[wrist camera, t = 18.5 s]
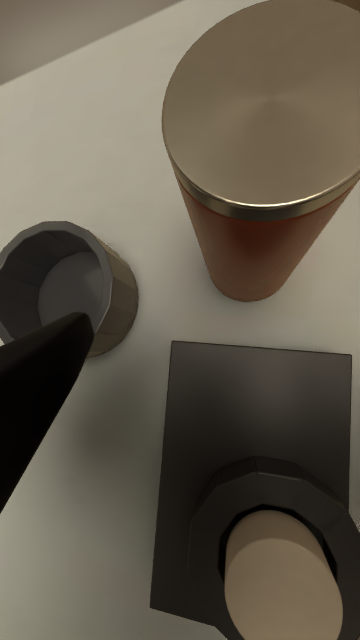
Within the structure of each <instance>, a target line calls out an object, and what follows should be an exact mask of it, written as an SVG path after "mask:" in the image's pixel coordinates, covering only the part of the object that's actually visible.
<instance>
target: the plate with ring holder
mask: <svg viewBox="0 0 360 640" xmlns="http://www.w3.org/2000/svg"><path fill="white" fill-rule="evenodd" d="M351 380H352V355H351V354H339V353H326V352H313V351H300V350H288V349H275V348H262V347H249V346H236V345H223V344H210V343H197V342H185V341H172V343H171V355H170V367H169V379H168V391H167V403H166V415H165V427H164V439H163V451H162V463H161V475H160V487H159V499H158V511H157V523H156V535H155V547H154V559H153V571H152V583H151V595H150V608H152V609H156V610H159V611H163V612H166V613H170V614H173V615H177V616H180V617H183V618H187V619H190V620H194V621H197V622H201V623H204V624H208V625H211V626H215V627H216V628H217V629H218V630H219V631H220V632H221V633H222V634H223V635H224V636H225V637H226V638H227V639H228V640H245V639H244V638H243V636H242V635H241V634H240V633H239V631H238V629H237V628H236V626H235V625H234V623H233V621H232V618H231V616H230V614H229V611H228V608H227V604H226V600H225V564H226V548H227V542H228V538H229V536H230V533H231V531H232V530H233V528H234V526H235V525H236V524H237V523H238V522H239V521H240V520H241V519H242V518H243V517H245V516H246V515H248V514H250V513H253V512H256V511H260V510H275V511H280V512H283V513H286V514H288V515H290V516H292V517H294V518H296V519H297V520H299V521H300V522H302V523H303V524H304V525H305V526H306V527H307V528H308V529H309V530H310V531H311V532H312V533H313V535H314V536H315V538H316V539H317V541H318V543H319V544H320V546H321V549H322V551H323V553H324V556H325V558H326V560H327V563H328V565H329V567H330V570H331V572H332V574H333V577H334V579H335V581H336V584H337V586H338V588H339V592H340V595H341V599H342V605H343V619H342V626H341V630H340V633H339V636H338V638H337V640H357V639H358V638H359V636H360V533H359V531H358V529H357V527H356V525H355V523H354V521H353V520H352V518H351V516H350V514H349V468H350V424H351Z"/></svg>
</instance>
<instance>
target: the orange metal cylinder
mask: <svg viewBox="0 0 360 640" xmlns="http://www.w3.org/2000/svg"><path fill="white" fill-rule="evenodd" d="M162 133H163V139H164V143H165V147H166V150H167V153H168V156H169V158H170V161H171V164H172V167H173V170H174V173H175V176H176V179H177V182H178V184H179V187H180V190H181V193H182V196H183V199H184V202H185V205H186V208H187V210H188V213H189V216H190V219H191V222H192V225H193V228H194V231H195V234H196V236H197V239H198V242H199V245H200V248H201V251H202V254H203V257H204V260H205V262H206V265H207V268H208V271H209V274H210V277H211V279H212V281H213V283H214V284H215V286H216V287H217V288H218V289H219V290H220V291H221V292H222V293H223V294H225V295H226V296H228V297H230V298H232V299H235V300H238V301H245V302H251V301H258V300H262V299H265V298H267V297H269V296H271V295H272V294H274V293H275V292H277V291H278V290H279V289H280V288H281V287H282V286H283V284H284V283H285V282H286V280H287V279H288V277H289V276H290V275H291V273H292V272H293V271H294V269H295V268H296V266H297V265H298V264H299V262H300V261H301V259H302V258H303V257H304V255H305V254H306V253H307V251H308V250H309V248H310V247H311V246H312V244H313V243H314V241H315V240H316V239H317V237H318V236H319V235H320V233H321V232H322V230H323V229H324V228H325V226H326V225H327V224H328V222H329V221H330V219H331V218H332V217H333V215H334V214H335V212H336V211H337V210H338V208H339V207H340V206H341V204H342V203H343V201H344V200H345V199H346V197H347V196H348V194H349V193H350V192H351V190H352V189H353V188H354V186H355V185H356V183H357V182H358V181H359V179H360V12H359V11H357V10H355V9H353V8H350V7H348V6H346V5H344V4H341V3H338V2H335V1H332V0H269V1H265V2H261V3H258V4H255V5H252V6H250V7H247V8H244V9H242V10H240V11H238V12H236V13H234V14H232V15H230V16H228V17H227V18H225V19H223V20H222V21H220V22H219V23H217V24H216V25H214V26H213V27H212V28H211V29H209V30H208V31H207V32H205V33H204V34H203V35H202V36H201V37H200V38H199V39H198V40H197V41H196V42H195V43H194V44H193V45H192V46H191V48H190V49H189V50H188V51H187V52H186V54H185V55H184V56H183V58H182V59H181V61H180V62H179V64H178V65H177V67H176V69H175V71H174V73H173V75H172V77H171V79H170V82H169V84H168V87H167V90H166V94H165V98H164V102H163V109H162Z"/></svg>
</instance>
